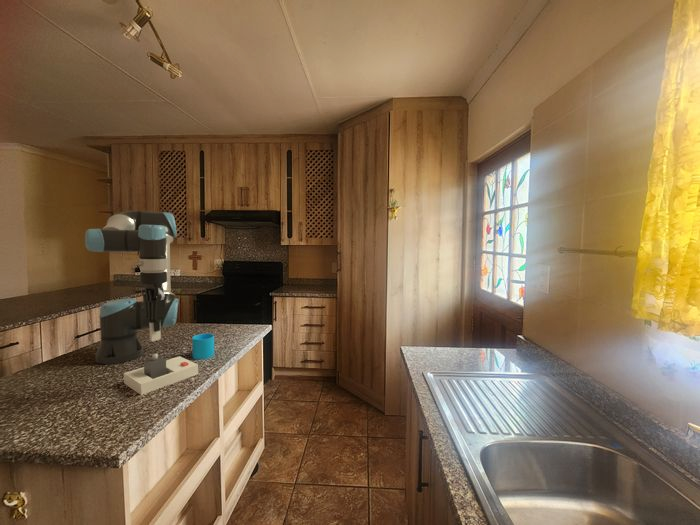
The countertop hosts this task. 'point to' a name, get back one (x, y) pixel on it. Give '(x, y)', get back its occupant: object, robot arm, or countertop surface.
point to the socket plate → (174, 373)
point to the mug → (203, 346)
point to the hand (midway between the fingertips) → (155, 339)
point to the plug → (155, 366)
